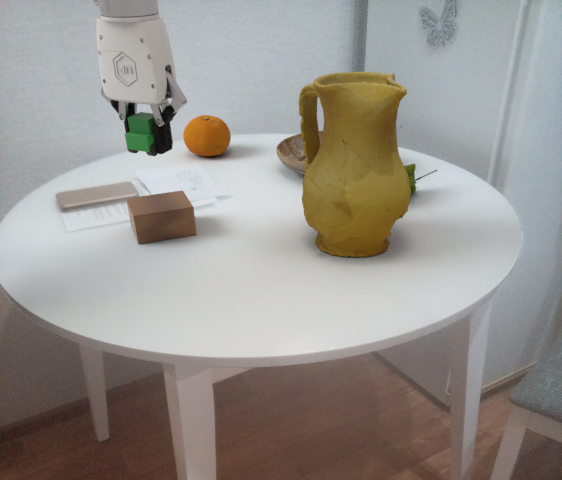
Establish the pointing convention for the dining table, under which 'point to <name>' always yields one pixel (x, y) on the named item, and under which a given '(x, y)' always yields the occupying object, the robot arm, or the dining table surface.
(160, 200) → the wooden block
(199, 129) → the fruit
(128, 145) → the toy car
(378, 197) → the pitcher
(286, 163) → the ceramic bowl
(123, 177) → the dining table surface
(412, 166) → the toy tank
